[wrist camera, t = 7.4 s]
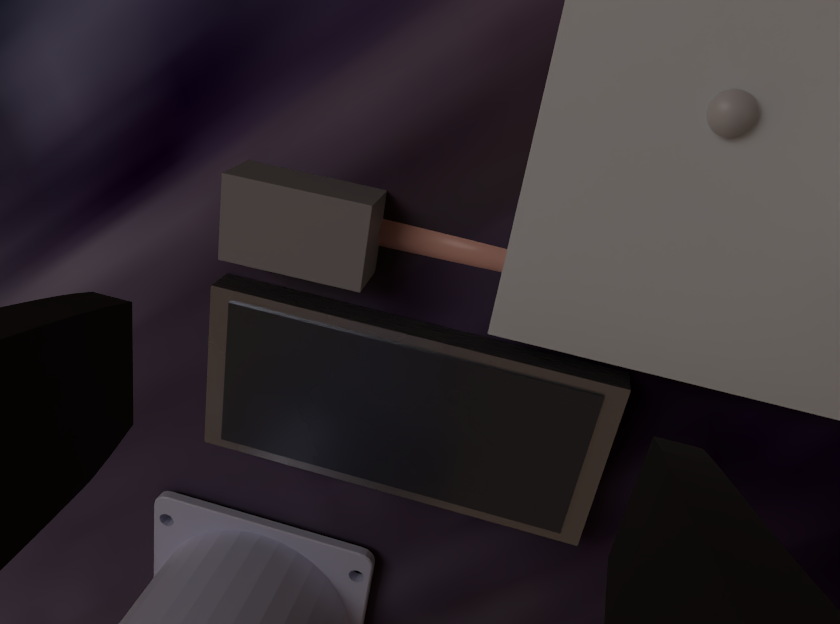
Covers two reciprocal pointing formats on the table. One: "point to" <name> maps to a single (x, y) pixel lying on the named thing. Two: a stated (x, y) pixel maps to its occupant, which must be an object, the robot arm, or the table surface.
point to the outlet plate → (687, 197)
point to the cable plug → (323, 228)
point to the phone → (410, 407)
